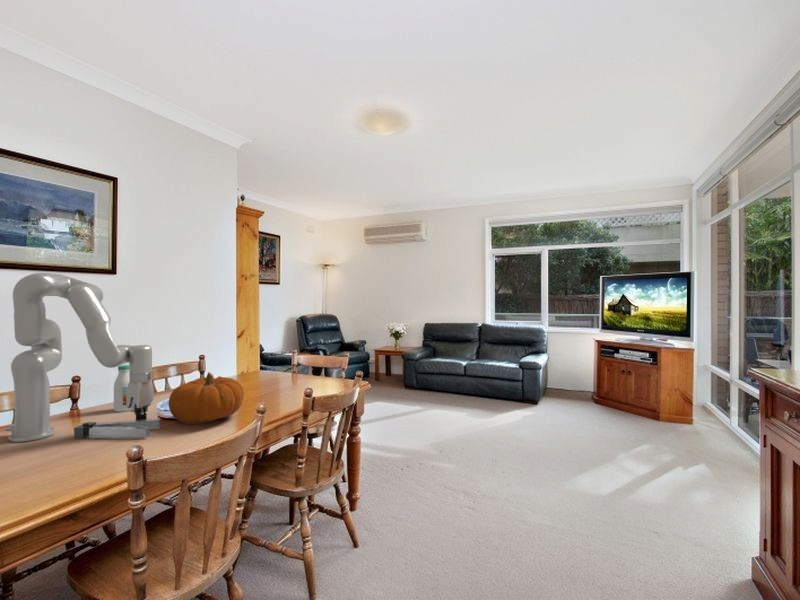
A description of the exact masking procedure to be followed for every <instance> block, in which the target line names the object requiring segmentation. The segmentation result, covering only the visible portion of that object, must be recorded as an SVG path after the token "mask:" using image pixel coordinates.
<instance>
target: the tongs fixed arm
mask: <svg viewBox="0 0 800 600" xmlns="http://www.w3.org/2000/svg"><path fill="white" fill-rule="evenodd" d="M96 424H98V423H97V421H96V422H95V421H87V422H83V423H82V424H80V425H77V426H75V427H74V428H73V432H74V433H73V439H74V438H84V439H86V438H88V439H95V438H147V437H148V438H150V437H151V430H150V427H96ZM87 436H88V437H87ZM149 436H150V437H149ZM85 437H86V438H85ZM148 438H147V439H148Z"/></svg>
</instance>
